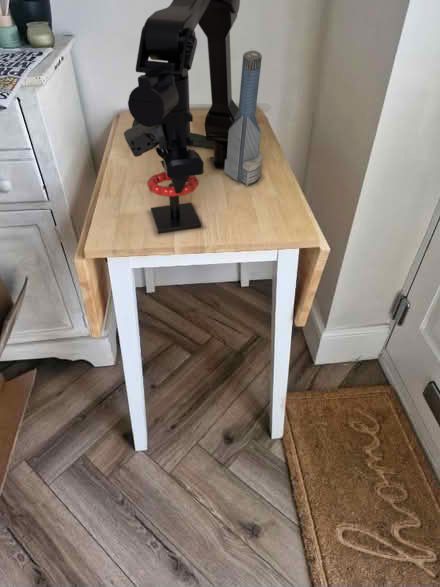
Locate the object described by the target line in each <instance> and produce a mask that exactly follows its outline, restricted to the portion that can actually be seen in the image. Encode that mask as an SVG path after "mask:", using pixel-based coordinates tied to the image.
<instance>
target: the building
mask: <svg viewBox="0 0 440 587" xmlns="http://www.w3.org/2000/svg"><path fill="white" fill-rule="evenodd" d="M262 58H263V56H262V54H261V52H259V51H257V50H255V49H254V50H253V49H251V50H247V51H245V52H243V55H242V65H241V76H240V90H239V100H238V109H239V111H238V117H237V118H236V120H235V121H234V122H233V124H232V125H231V127H230V128H229V135H228V149H227V159H225V168H223V170H224V172H223V173H224V174H225V175H226V176H228V177H230V178H231V179H232V180H234V181H235V182H238V183H239V182H241V183H242V184H243V185H244V186H245V187H249V186H253V185H255V184H257V183H258V181H259V180H260V179H261V176H262V168H263V161H264V157H263V154H262V152H261V151H260V144H261V137H262V130H261V128H260V125H259V122H258V119H257V116H256V112H257V104H258V103H257V102H258V94H259V87H260V86H259V84H260V77H261V76H260V75H261V67H262Z"/></svg>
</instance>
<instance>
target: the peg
mask: <svg viewBox="0 0 440 587" xmlns="http://www.w3.org/2000/svg"><path fill="white" fill-rule="evenodd" d="M167 187H173V185H172V182H171V183H169V184H168V185H167ZM168 200H169V205H163V206H162V205H161V206H155V207H150V212H151V216H152V219H153V223H154V225H155V228H156V232H157V234H158V235H160V234H167V233H173V232H179V231H188V230H196V229H201V228H202V223H201V221H200V219H199V216H198V214H197V212H196V210H195V208H194V206H193V204H192V202H185V203H180V196H173V197H169V196H168Z"/></svg>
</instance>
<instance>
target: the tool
mask: <svg viewBox="0 0 440 587" xmlns="http://www.w3.org/2000/svg"><path fill="white" fill-rule="evenodd" d="M138 124H139V123H138V122H137V121H136V120H135V119H134V118H133V121H132V124H131V128H132V127H134V126H136V125H138ZM190 135H191V137H192V139H193V146H192V147H198V148H199V147H200V148H207V149H208V148H209V149H214V141H207V139H206V135H204V134H201V133H200V134H199V133H195V132H190Z"/></svg>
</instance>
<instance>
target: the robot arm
mask: <svg viewBox="0 0 440 587" xmlns="http://www.w3.org/2000/svg"><path fill="white" fill-rule="evenodd" d="M240 5H241V0H172V2H171V3H170V4H169V5H168V6H167V7H166V8H162V9H158V10H156V11H155V12H153V13H152V14H150V15H149V17H147V19H146V20H145V22H144V25H143V26H142V28H141V32H140V38H139V46H138V51H137V58H136V64H135V72H136V73H143V74H141V75H139V76H138V77H137V83H138V84H137V86H136V87H135V88H133V89H132V90H131V91H130V93H129V95H128V100H127V107H128V111H129V113H130V115H131V117H132V118H133V120H134V119H135V120H136V121H137V122H138V123H139V124H138V125H136V126H134V127H132V126H131V127H130V128H128V129H126V130H125V131H124V132H123V136H124V140H125V142H126V143H127V145H128V147H129V150H130V151H131V153H132V155H133V157H136V158H137V157H141V156H143V155H144V154H145V153H147V152H149V151H151V150H153V149H154V148H155V149H154V150H155V152H156V154H157V156H158V157H160V158H161V159H162V160H160V163H161V166H162V168H163V169H164V172H166V175H167V177H170V178H171V180H170V182H171V183H172V185H173V187H174V189H175V193H181V192H182V190H183V188H184V186H185V184H187V182H186V181H187V179H188V177H189V176H194V175H195V176H201V175H203V174H204V173H205V165H204V164H205V162H204V160H203V159H202V157H201V155H200V153H199V152H197V151H196V150H195V149H191V148H189V147H190V146H191V147H194V146H193V139H192V137H191V135H190V133H191V122H192V123H193V121H194V120H193V117H194V116H193V114H192V113H191V111H190V110H191V109H190V80H189V71H191V70H192V66H193V62H194V58H195V54H196V50H197V46H198V38H197V37H196V31H195V29H196V28H197V27H198V26H199V27H200V29H201V31H202V32H203V34H204V35H205V37H206V39H207V40H206V41H207V52H208V69H209V82H210V95H211V97H210V98H211V105H210V107H209V109H208V111H207V113H206V115H205V118H204V131H205V136H206V139H207V141H214V148H213V156H209V160H210V162H211V164H212V165H213V167H214V168H215V169H216V170H221V169H225V159H227V149H228V135H229V128H230V127H231V125H232V124H233V122H234V121H235V120H236V118H237V117H238V111H239V106H237V104H236V103H235V101H234V100H233V96H232V95H233V93H232V92H233V91H232V62H231V60H232V59H231V30H232V28H233V26H234V24H235V22H236V20H237V19H238V13H239V11H240ZM149 59H150V60H149Z"/></svg>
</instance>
